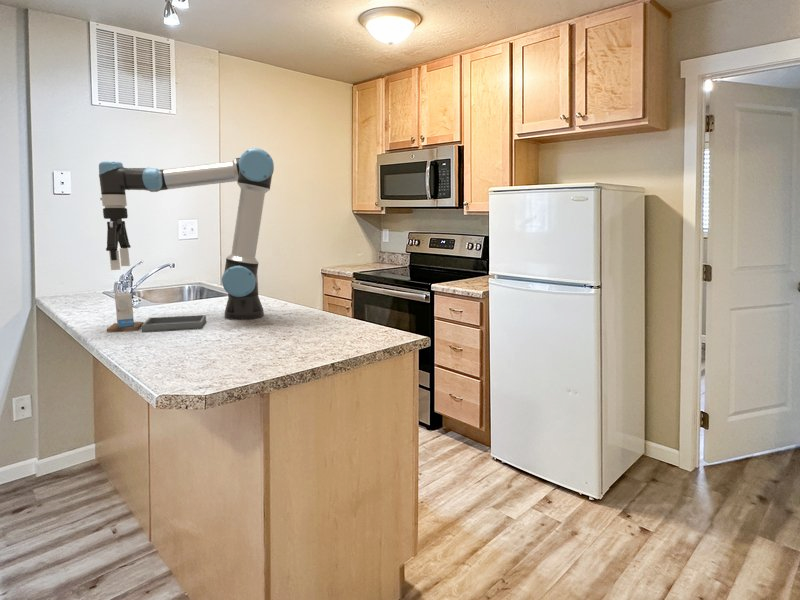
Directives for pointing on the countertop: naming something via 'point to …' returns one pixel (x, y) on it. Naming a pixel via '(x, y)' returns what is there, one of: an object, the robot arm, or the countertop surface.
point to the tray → (174, 323)
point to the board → (116, 328)
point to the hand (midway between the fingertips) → (120, 267)
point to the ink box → (124, 308)
